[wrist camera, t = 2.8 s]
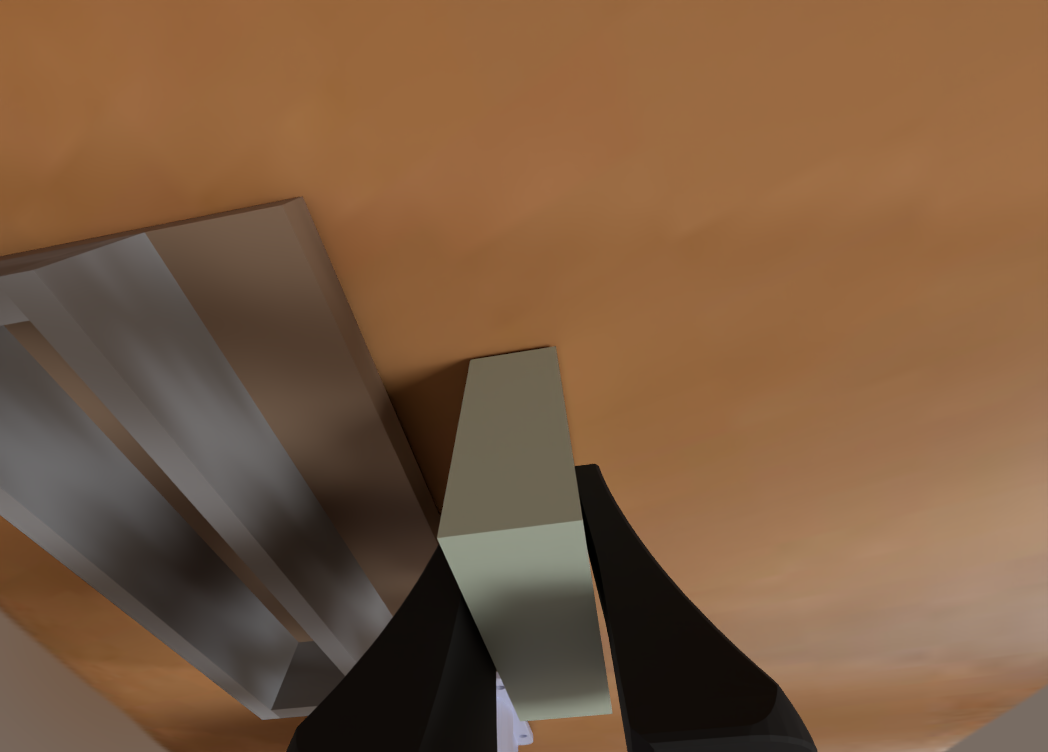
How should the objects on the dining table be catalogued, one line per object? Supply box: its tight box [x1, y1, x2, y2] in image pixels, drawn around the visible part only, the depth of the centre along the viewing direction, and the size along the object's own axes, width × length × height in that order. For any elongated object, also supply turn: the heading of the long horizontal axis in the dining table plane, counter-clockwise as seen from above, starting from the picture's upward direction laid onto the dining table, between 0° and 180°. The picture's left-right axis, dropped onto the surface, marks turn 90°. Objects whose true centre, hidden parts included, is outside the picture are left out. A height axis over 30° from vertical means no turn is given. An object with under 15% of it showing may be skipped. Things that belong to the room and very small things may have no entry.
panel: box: [437, 346, 612, 721], centre depth 12 cm, size 8×2×6 cm, turn 10°
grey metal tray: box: [0, 196, 441, 720], centre depth 14 cm, size 18×12×4 cm, turn 10°
